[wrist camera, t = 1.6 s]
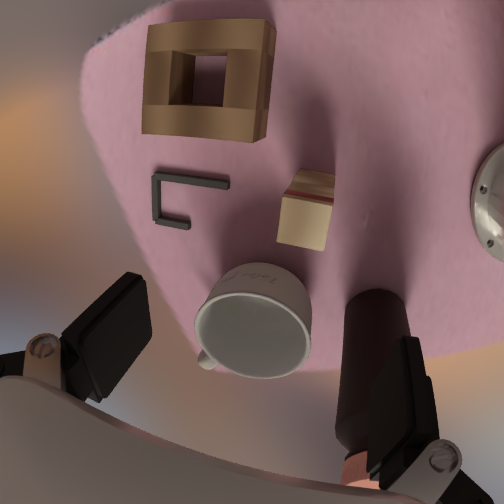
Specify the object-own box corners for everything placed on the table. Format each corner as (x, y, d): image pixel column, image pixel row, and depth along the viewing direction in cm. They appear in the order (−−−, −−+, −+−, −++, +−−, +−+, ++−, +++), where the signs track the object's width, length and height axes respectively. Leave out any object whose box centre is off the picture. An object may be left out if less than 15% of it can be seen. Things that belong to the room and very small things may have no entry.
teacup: (284, 232, 31) (265, 273, 24) (336, 314, 33) (330, 367, 26) (185, 284, 37) (152, 325, 30) (237, 349, 40) (216, 395, 33)
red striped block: (335, 175, 27) (333, 206, 19) (329, 208, 28) (323, 252, 21) (299, 168, 28) (282, 196, 20) (295, 202, 29) (276, 242, 21)
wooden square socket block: (276, 31, 22) (264, 18, 18) (265, 137, 27) (252, 143, 23) (173, 32, 24) (148, 25, 20) (166, 128, 29) (141, 133, 25)
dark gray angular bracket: (230, 181, 30) (227, 182, 29) (226, 234, 32) (224, 237, 32) (155, 171, 31) (151, 172, 31) (155, 221, 34) (152, 223, 33)
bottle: (388, 276, 30) (408, 461, 12) (414, 320, 31) (436, 490, 14) (332, 305, 33) (305, 482, 16) (362, 345, 34) (352, 509, 17)
